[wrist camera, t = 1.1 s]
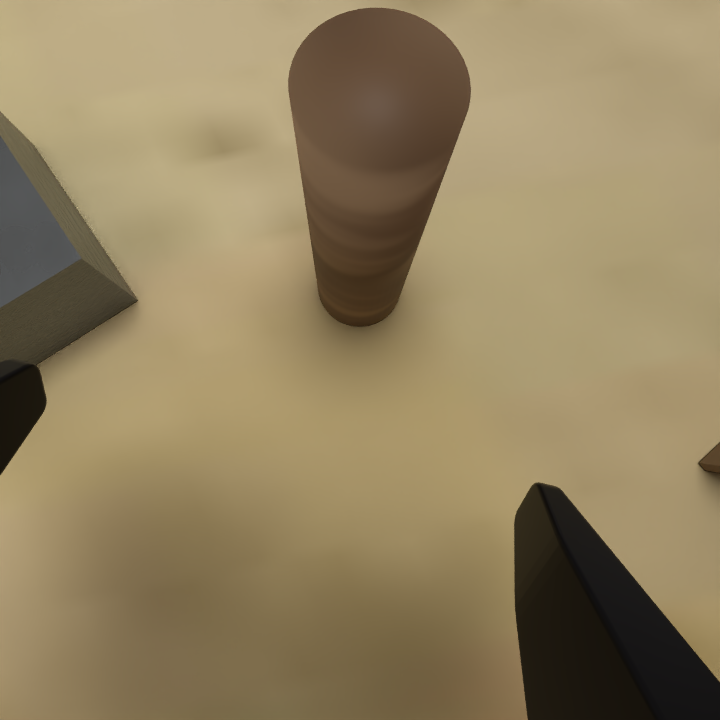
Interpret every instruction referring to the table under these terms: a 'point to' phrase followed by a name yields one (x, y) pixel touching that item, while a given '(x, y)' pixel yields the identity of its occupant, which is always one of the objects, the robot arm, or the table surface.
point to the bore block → (47, 259)
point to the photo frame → (712, 460)
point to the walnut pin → (373, 149)
